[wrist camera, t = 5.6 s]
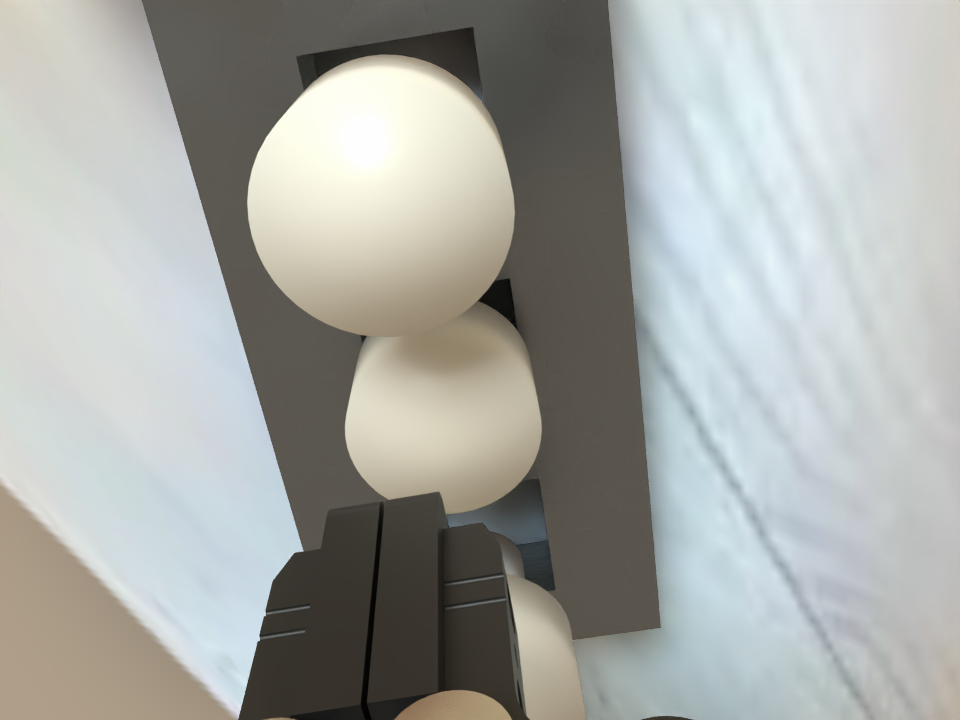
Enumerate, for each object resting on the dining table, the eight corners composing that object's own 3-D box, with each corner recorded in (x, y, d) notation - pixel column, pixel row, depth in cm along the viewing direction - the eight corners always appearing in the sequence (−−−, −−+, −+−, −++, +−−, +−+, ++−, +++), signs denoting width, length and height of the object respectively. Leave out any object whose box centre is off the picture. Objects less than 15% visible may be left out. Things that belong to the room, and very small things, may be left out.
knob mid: (511, 242, 25) (528, 329, 19) (532, 385, 27) (552, 499, 21) (351, 267, 25) (325, 360, 20) (383, 407, 27) (367, 526, 21)
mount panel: (584, -95, 21) (599, -96, 19) (645, 576, 30) (660, 627, 28) (167, -24, 22) (136, -18, 20) (346, 618, 30) (339, 671, 28)
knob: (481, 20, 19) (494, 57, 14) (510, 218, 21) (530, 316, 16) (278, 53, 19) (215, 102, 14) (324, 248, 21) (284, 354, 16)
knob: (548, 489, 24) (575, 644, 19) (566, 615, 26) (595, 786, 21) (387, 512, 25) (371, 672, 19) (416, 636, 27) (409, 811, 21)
